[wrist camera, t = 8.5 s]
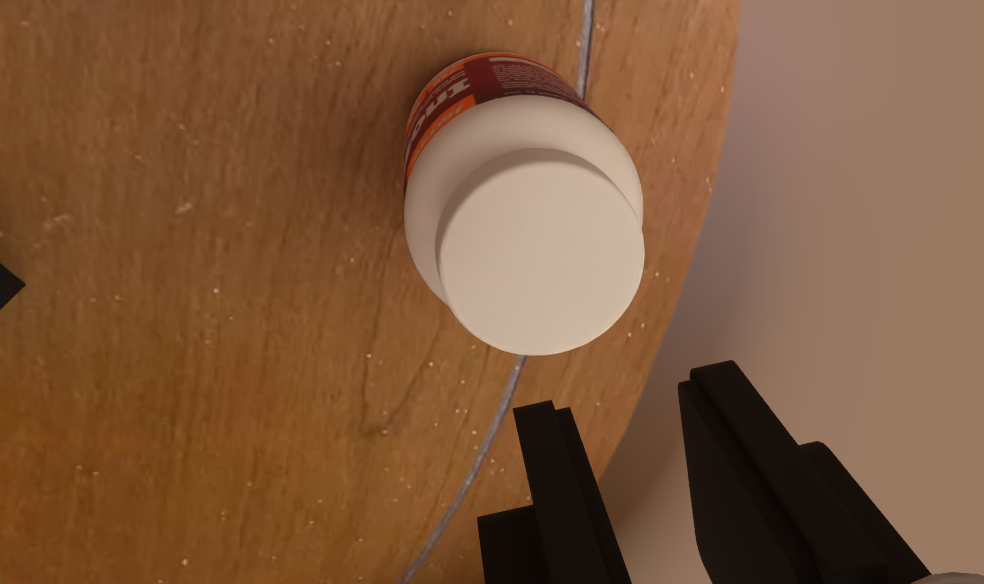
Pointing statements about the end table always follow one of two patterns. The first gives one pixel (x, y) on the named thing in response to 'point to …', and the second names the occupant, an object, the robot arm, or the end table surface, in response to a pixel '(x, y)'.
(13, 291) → the watch
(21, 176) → the end table surface
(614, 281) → the pill bottle
